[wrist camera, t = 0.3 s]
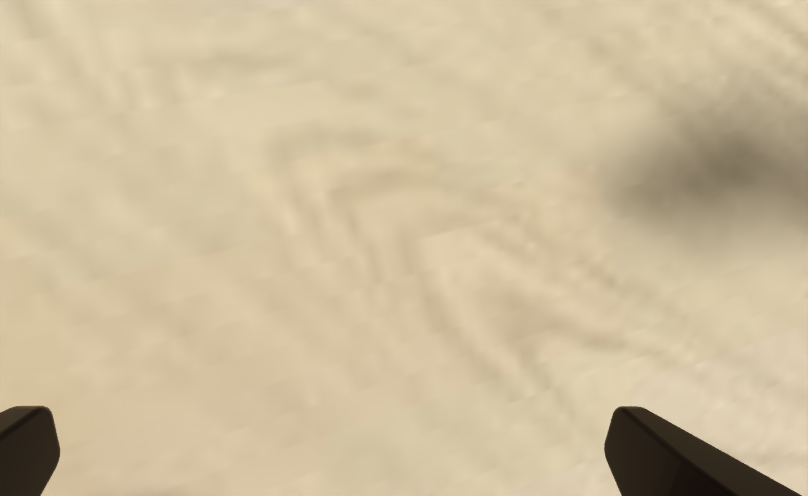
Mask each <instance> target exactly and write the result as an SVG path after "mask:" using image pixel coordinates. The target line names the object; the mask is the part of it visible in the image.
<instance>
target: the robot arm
mask: <svg viewBox="0 0 808 496" xmlns="http://www.w3.org/2000/svg"><path fill="white" fill-rule="evenodd" d="M604 450H605V456H606V460H607V462H608V465H609V467H610V469H611V472H612V474H613V476H614V479H615V481H616V483H617V486H618V488H619V491H620V493H621V495H622V496H802V495H800V494H798V493H796V492H795V491H793V490H791V489H789V488H787V487H786V486H784V485H782V484H780V483H778V482H776V481H775V480H773V479H771V478H769V477H767V476H766V475H764V474H762V473H760V472H758V471H757V470H755V469H753V468H751V467H749V466H748V465H746V464H744V463H742V462H740V461H739V460H737V459H735V458H733V457H731V456H730V455H728V454H726V453H724V452H722V451H721V450H719V449H717V448H715V447H713V446H712V445H710V444H708V443H706V442H704V441H703V440H701V439H699V438H697V437H695V436H694V435H692V434H690V433H688V432H686V431H685V430H683V429H681V428H679V427H677V426H676V425H674V424H672V423H670V422H668V421H667V420H665V419H663V418H661V417H659V416H658V415H656V414H654V413H652V412H650V411H649V410H647V409H645V408H643V407H637V406H621V407H618V408H617V409H616V410H615V411H614V413H613V416H612V419H611V423H610V426H609V430H608V433H607V437H606V440H605V447H604ZM59 457H60V446H59V441H58V437H57V433H56V428H55V424H54V419H53V415H52V412H51V411H50V410H49V408H47V407H44V406H16V407H12V408H10V409H7V410H5V411H3V412H1V413H0V496H41V494H42V492H43V490H44V488H45V487H46V485H47V483H48V481H49V479H50V478H51V476H52V474H53V472H54V470H55V469H56V466H57V464H58V461H59Z"/></svg>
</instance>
